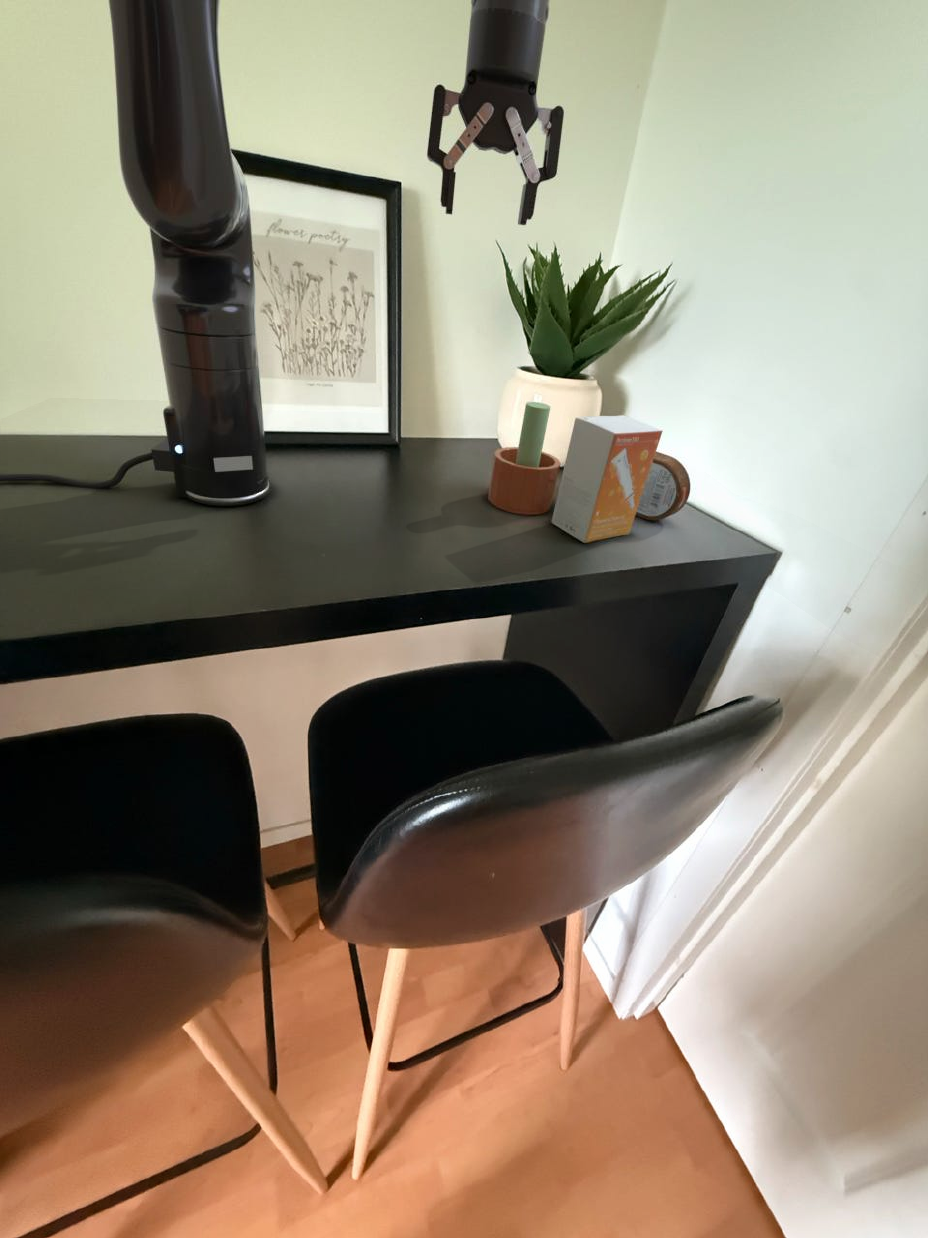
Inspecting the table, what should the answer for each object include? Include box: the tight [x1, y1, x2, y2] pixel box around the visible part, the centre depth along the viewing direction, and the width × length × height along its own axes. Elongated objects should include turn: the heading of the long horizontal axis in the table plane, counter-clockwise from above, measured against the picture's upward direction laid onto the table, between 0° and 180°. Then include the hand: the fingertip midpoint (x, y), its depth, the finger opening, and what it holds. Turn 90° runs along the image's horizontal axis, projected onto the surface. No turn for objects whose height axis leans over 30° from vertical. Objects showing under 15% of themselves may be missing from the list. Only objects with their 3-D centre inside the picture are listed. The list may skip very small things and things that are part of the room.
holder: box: [487, 446, 562, 516], centre depth 72 cm, size 8×8×6 cm
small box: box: [550, 414, 664, 544], centre depth 65 cm, size 8×6×13 cm
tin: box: [635, 450, 691, 521], centre depth 74 cm, size 15×3×8 cm, turn 47°
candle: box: [516, 401, 551, 468], centre depth 70 cm, size 3×3×12 cm
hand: (485, 219), depth 64 cm, fingers open, 8 cm apart
